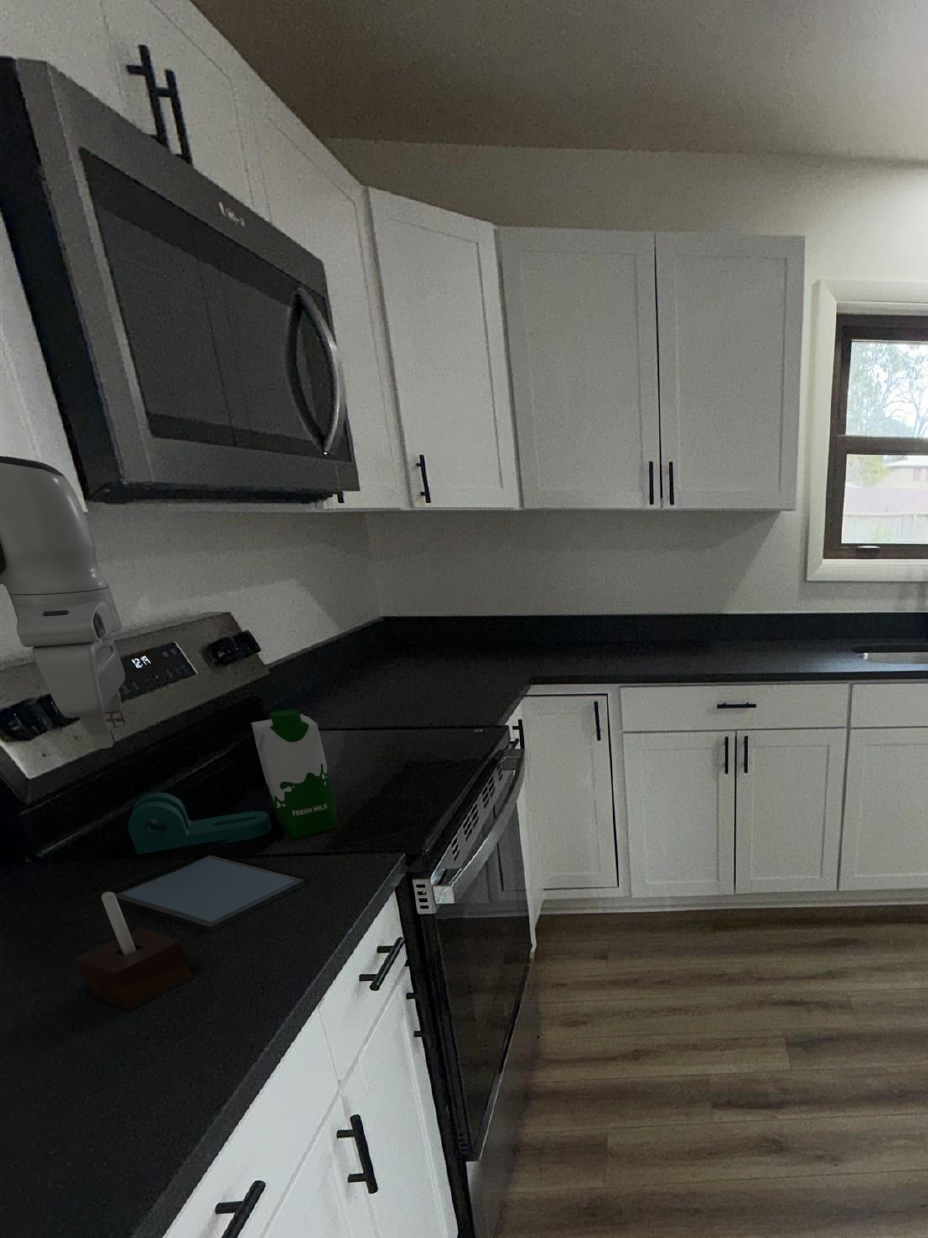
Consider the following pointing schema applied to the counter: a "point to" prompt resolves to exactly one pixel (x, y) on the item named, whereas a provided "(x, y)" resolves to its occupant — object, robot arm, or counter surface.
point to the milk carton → (296, 773)
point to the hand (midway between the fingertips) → (111, 736)
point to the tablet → (209, 892)
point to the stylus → (118, 923)
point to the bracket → (187, 825)
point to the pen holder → (135, 969)
